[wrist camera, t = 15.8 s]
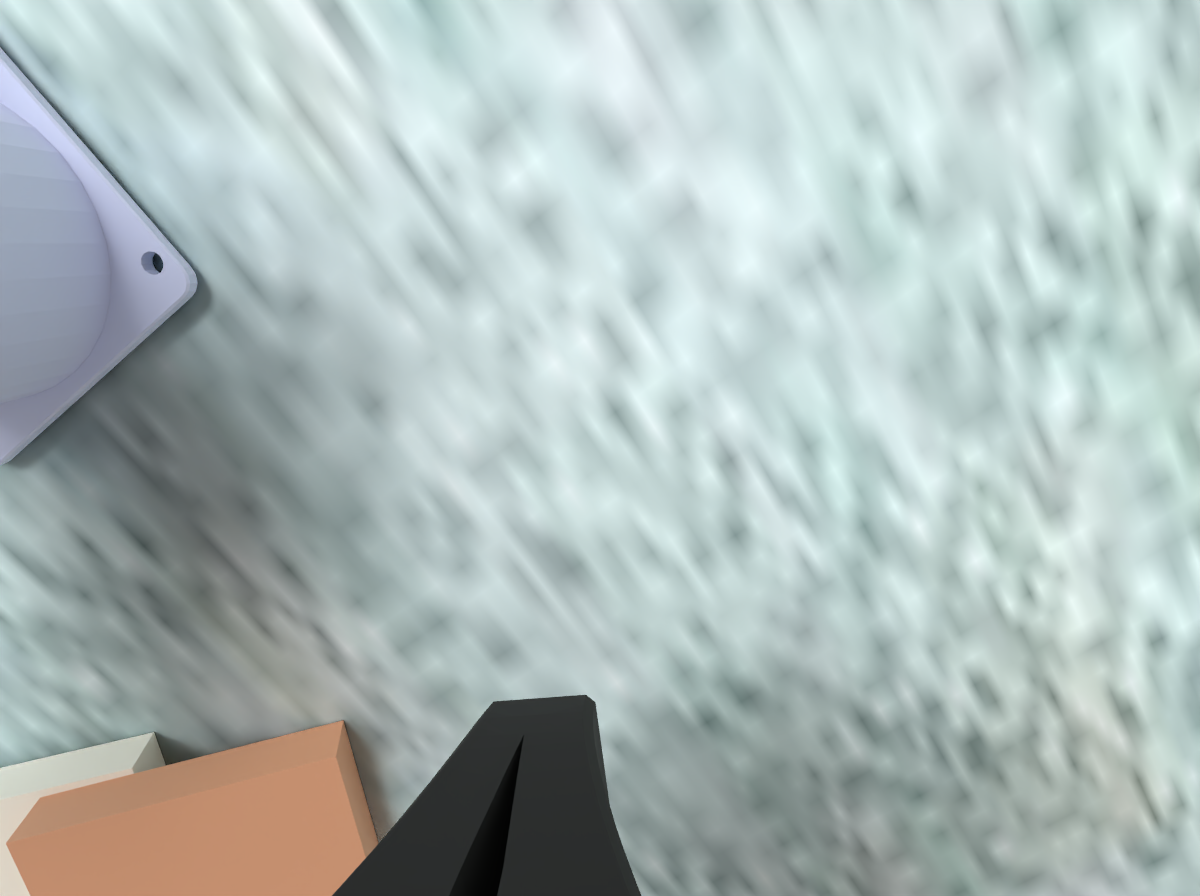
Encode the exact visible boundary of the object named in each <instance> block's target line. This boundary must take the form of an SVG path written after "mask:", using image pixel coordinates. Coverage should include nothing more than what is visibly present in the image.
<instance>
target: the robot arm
mask: <svg viewBox="0 0 1200 896" xmlns="http://www.w3.org/2000/svg"><path fill="white" fill-rule="evenodd" d="M155 253H157V254H158V255H159V256H160V257H161V259H162V261H163V269H162V271H161V273H160V272H158V271H157V270H156V269H155V267H154V266H153V262H152V258H153V256H154V254H155ZM197 284H198V282H197V278H196V274H195V272H194V271H193V269H192V268H191V266H190V265H189V264H188V263H187V262H186V260H185V259H184V258H183V257H182V256H181V255H180V254H179V252H178V251H177V250H176V249H175V248H174V247H173V246H172V244H171V243H170V242H169V241H168V240H167V239H166V237H165V236H164V235H163V234H162V233H161V232H160V231H159V229H158V228H157V227H156V226H155V225H154V224H153V223H152V221H151V220H150V219H149V218H148V217H147V216H146V214H145V213H144V212H143V211H142V210H141V209H140V208H139V206H138V205H137V204H136V203H135V202H134V201H133V200H132V198H131V197H130V196H129V195H128V194H127V193H126V191H125V190H124V189H123V188H122V187H121V186H120V185H119V183H118V182H117V181H116V180H115V179H114V178H113V176H112V175H111V174H110V173H109V172H108V171H107V170H106V168H105V167H104V166H103V165H102V164H101V163H100V162H99V160H98V159H97V158H96V157H95V156H94V155H93V153H92V152H91V151H90V150H89V149H88V148H87V147H86V145H85V144H84V143H83V142H82V141H81V140H80V139H79V137H78V136H77V135H76V134H75V133H74V132H73V130H72V129H71V128H70V127H69V126H68V125H67V124H66V122H65V121H64V120H63V119H62V118H61V117H60V116H59V114H58V113H57V112H56V111H55V110H54V109H53V107H52V106H51V105H50V104H49V103H48V102H47V101H46V99H45V98H44V97H43V96H42V95H41V94H40V93H39V91H38V90H37V89H36V88H35V87H34V86H33V84H32V83H31V82H30V81H29V80H28V79H27V78H26V76H25V75H24V74H23V73H22V72H21V71H20V70H19V68H18V67H17V66H16V65H15V64H14V63H13V61H12V60H11V59H10V58H9V57H8V56H7V55H6V53H5V52H4V51H3V50H2V49H1V48H0V465H2V464H5V463H7V462H9V461H11V460H12V459H13V458H14V457H15V456H16V455H17V454H18V453H19V452H21V451H22V450H23V449H24V448H25V447H26V446H27V445H28V444H29V443H31V442H32V441H33V440H34V439H35V438H36V437H37V436H38V435H39V434H41V433H42V432H43V431H44V430H45V429H46V428H47V427H48V426H49V425H51V424H52V423H53V422H54V421H55V420H56V419H57V418H58V417H59V416H61V415H62V414H63V413H64V412H65V411H66V410H67V409H68V408H69V407H70V406H72V405H73V404H74V403H75V402H76V401H77V400H78V399H79V398H80V397H82V396H83V395H84V394H85V393H86V392H87V391H88V390H89V389H90V388H92V387H93V386H94V385H95V384H96V383H97V382H98V381H99V380H100V379H102V378H103V377H104V376H105V375H106V374H107V373H108V372H109V371H110V370H112V369H113V368H114V367H115V366H116V365H117V364H118V363H119V362H120V361H122V360H123V359H124V358H125V357H126V356H127V355H128V354H129V353H130V352H132V351H133V350H134V349H135V348H136V347H137V346H138V345H139V344H140V343H141V342H143V341H144V340H145V339H146V338H147V337H148V336H149V335H150V334H151V333H153V332H154V331H155V330H156V329H157V328H158V327H159V326H160V325H161V324H163V323H164V322H165V321H166V320H167V319H168V318H169V317H170V316H171V315H173V314H174V313H175V312H176V311H177V310H178V309H179V308H180V307H181V306H183V305H184V304H185V303H186V302H187V301H188V300H189V299H190V298H191V297H192V296H193V295H194V293H195V292H196V289H197ZM332 896H641V894H640V891H639V889H638V886H637V884H636V881H635V878H634V876H633V873H632V870H631V868H630V865H629V862H628V860H627V857H626V854H625V852H624V849H623V846H622V843H621V840H620V837H619V834H618V831H617V828H616V826H615V822H614V819H613V815H612V812H611V809H610V805H609V798H608V790H607V783H606V776H605V769H604V762H603V755H602V747H601V740H600V733H599V726H598V719H597V712H596V704H595V702H594V701H593V700H592V699H590V698H589V697H588V696H587V695H577V696H564V697H550V698H537V699H523V700H510V701H496V702H493V703H492V704H491V705H490V706H489V708H488V709H487V710H486V711H485V712H484V714H483V715H482V716H481V717H480V719H479V720H478V721H477V722H476V724H475V725H474V726H473V728H472V729H471V730H470V731H469V733H468V734H467V735H466V737H465V738H464V739H463V741H462V742H461V743H460V744H459V746H458V747H457V748H456V750H455V751H454V752H453V754H452V755H451V756H450V757H449V759H448V760H447V761H446V762H445V764H444V765H443V766H442V768H441V769H440V770H439V771H438V773H437V774H436V775H435V776H434V778H433V779H432V780H431V781H430V783H429V784H428V785H427V786H426V788H425V789H424V790H423V791H422V792H421V794H420V795H419V796H418V797H417V799H416V800H415V801H414V802H413V803H412V805H411V806H410V807H409V808H408V809H407V811H406V812H405V813H404V814H403V816H402V817H401V818H400V819H399V820H398V822H397V823H396V824H395V825H394V826H393V828H392V829H391V830H390V831H389V832H388V834H387V835H386V836H385V837H384V838H383V839H382V840H381V842H380V843H379V844H378V845H377V846H376V847H375V848H374V849H373V850H372V852H371V853H370V854H369V855H368V856H367V857H366V858H365V859H364V860H363V862H362V863H361V864H360V865H359V866H358V867H357V868H356V869H355V870H354V872H353V873H352V874H351V875H350V876H349V877H348V878H347V879H346V880H345V882H344V883H343V884H342V885H341V886H340V887H339V888H338V889H337V890H336V892H335V893H334V894H333V895H332Z"/></svg>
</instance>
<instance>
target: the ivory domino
mask: <svg viewBox="0 0 1200 896" xmlns="http://www.w3.org/2000/svg"><path fill="white" fill-rule="evenodd" d="M162 766H166V764H165V761H164V758H163V756H162V753H161V750H160V747H159V744H158V741H157V739H156V736H155V733H154V732H152V733H148V734H144V735H139V736H135V737H131V738H126V739H122V740H118V741H113V742H109V743H105V744H101V745H96V746H92V747H88V748H83V749H79V750H75V751H70V752H66V753H62V754H58V755H53V756H49V757H45V758H40V759H36V760H32V761H27V762H23V763H19V764H15V765H10V766H6V767H2V768H0V896H30V894H29V892H28V890H27V887H26V885H25V883H24V881H23V879H22V877H21V875H20V873H19V871H18V868H17V866H16V864H15V862H14V860H13V858H12V856H11V854H10V852H9V849H8V847H7V845H6V842H7V841H8V840H9V838H10V837H11V836H12V834H13V833H14V832H15V830H16V829H17V828H18V826H19V825H20V824H21V822H22V821H23V820H24V818H25V817H26V816H27V814H28V813H29V812H30V810H31V809H32V808H33V806H34V805H35V804H36V802H37V801H38V800H39V798H40V797H44V796H48V795H52V794H56V793H60V792H64V791H68V790H72V789H76V788H80V787H84V786H88V785H91V784H95V783H99V782H103V781H107V780H111V779H115V778H119V777H123V776H127V775H131V774H135V773H139V772H142V771H146V770H150V769H154V768H158V767H162Z"/></svg>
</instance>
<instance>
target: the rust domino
mask: <svg viewBox="0 0 1200 896" xmlns="http://www.w3.org/2000/svg"><path fill="white" fill-rule="evenodd" d="M6 845H7V847H8V849H9V852H10V854H11V856H12V858H13V860H14V862H15V864H16V866H17V868H18V871H19V873H20V875H21V877H22V879H23V881H24V883H25V885H26V887H27V890H28V892H29V894H30V896H332V895H333V894H334V893H335V892H336V890H337V889H338V888H339V887H340V886H341V885H342V884H343V883H344V882H345V880H346V879H347V878H348V877H349V876H350V875H351V874H352V873H353V872H354V870H355V869H356V868H357V867H358V866H359V865H360V864H361V863H362V862H363V860H364V859H365V858H366V857H367V856H368V855H369V854H370V853H371V852H372V850H373V849H374V848H375V847H376V846H377V845H378V840H377V836H376V833H375V829H374V826H373V822H372V819H371V815H370V812H369V808H368V805H367V801H366V798H365V794H364V791H363V787H362V784H361V780H360V777H359V773H358V770H357V766H356V763H355V759H354V756H353V752H352V749H351V745H350V742H349V738H348V735H347V731H346V728H345V724H344V721H339V722H335V723H331V724H327V725H323V726H319V727H315V728H311V729H307V730H303V731H299V732H296V733H292V734H288V735H284V736H280V737H276V738H272V739H268V740H264V741H260V742H256V743H252V744H248V745H245V746H241V747H237V748H233V749H229V750H225V751H221V752H217V753H213V754H209V755H205V756H201V757H197V758H193V759H190V760H186V761H182V762H178V763H174V764H170V765H166V766H162V767H158V768H154V769H150V770H146V771H142V772H139V773H135V774H131V775H127V776H123V777H119V778H115V779H111V780H107V781H103V782H99V783H95V784H91V785H88V786H84V787H80V788H76V789H72V790H68V791H64V792H60V793H56V794H52V795H48V796H44V797H40V798H39V800H38V801H37V802H36V804H35V805H34V806H33V808H32V809H31V810H30V812H29V813H28V814H27V816H26V817H25V818H24V820H23V821H22V822H21V824H20V825H19V826H18V828H17V829H16V830H15V832H14V833H13V834H12V836H11V837H10V838H9V840H8V841H7V842H6Z"/></svg>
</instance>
